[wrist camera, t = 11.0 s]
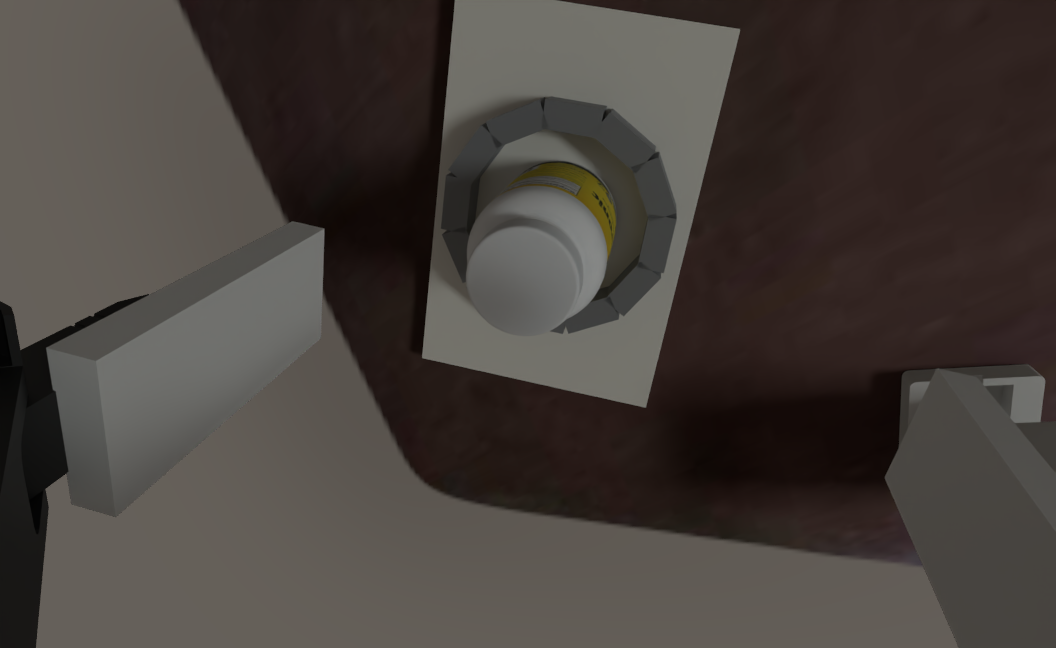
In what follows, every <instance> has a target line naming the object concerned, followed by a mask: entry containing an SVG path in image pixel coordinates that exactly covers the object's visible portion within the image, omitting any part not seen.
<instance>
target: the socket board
mask: <svg viewBox="0 0 1056 648" xmlns="http://www.w3.org/2000/svg"><path fill="white" fill-rule="evenodd" d="M739 33H740V29H735V28H729V27H723V26H716V25H710V24H704V23H697V22H691V21H684V20H678V19H672V18H665V17H659V16H652V15H646V14H640V13H633V12H627V11H620V10H614V9H608V8H601V7H595V6H588V5H582V4H576V3H569V2H563V1H556V0H455V6H454V17H453V27H452V38H451V49H450V60H449V71H448V82H447V93H446V104H445V114H444V125H443V136H442V147H441V158H440V169H439V180H438V190H437V201H436V212H435V223H434V234H433V245H432V256H431V266H430V277H429V288H428V299H427V310H426V321H425V332H424V343H423V353H422V358H425V359H429V360H434V361H438V362H443V363H447V364H452V365H456V366H461V367H465V368H470V369H474V370H479V371H483V372H488V373H492V374H497V375H501V376H506V377H510V378H515V379H519V380H524V381H528V382H533V383H537V384H542V385H546V386H551V387H555V388H560V389H564V390H569V391H573V392H578V393H582V394H587V395H591V396H596V397H600V398H605V399H609V400H614V401H618V402H623V403H627V404H632V405H636V406H641V407H645V408H646V405H647V401H648V397H649V393H650V389H651V385H652V381H653V377H654V373H655V369H656V365H657V361H658V357H659V353H660V349H661V345H662V341H663V337H664V333H665V329H666V325H667V321H668V317H669V313H670V309H671V305H672V301H673V297H674V293H675V289H676V285H677V281H678V277H679V273H680V269H681V265H682V261H683V257H684V253H685V249H686V245H687V241H688V237H689V233H690V229H691V225H692V221H693V217H694V213H695V209H696V205H697V201H698V197H699V193H700V189H701V185H702V181H703V177H704V173H705V169H706V165H707V161H708V157H709V153H710V149H711V145H712V141H713V137H714V133H715V129H716V125H717V121H718V117H719V113H720V109H721V105H722V101H723V97H724V93H725V89H726V85H727V81H728V77H729V73H730V69H731V65H732V61H733V57H734V53H735V49H736V45H737V41H738V37H739ZM548 161H568V162H573V163H576V164H579V165H582V166H584V167H586V168H587V169H589V170H591V171H592V172H594V173H595V174H596V175H597V176H598V177H599V178H600V179H601V180H602V181H603V182H604V183H605V185H606V186H607V188H608V189H609V191H610V193H611V195H612V197H613V200H614V203H615V207H616V215H617V223H616V231H615V236H614V240H613V244H612V248H611V252H610V255H609V259H608V264H607V269H606V272H605V276H604V279H603V281H602V283H601V286H600V288H599V290H598V292H597V293H596V295H595V296H594V298H593V299H592V300H591V302H590V303H589V304H588V305H587V306H586V307H585V308H584V309H582V310H581V311H580V312H578V313H577V314H575V315H574V316H572V317H570V318H568V319H566V320H565V321H564V322H563V323H562V324H560V325H559V326H558V327H556V328H554V329H553V330H551V331H549V332H546V333H543V334H539V335H535V336H518V335H513V334H509V333H506V332H503V331H501V330H499V329H497V328H495V327H494V326H492V325H491V324H489V323H488V322H487V321H486V320H485V319H484V318H483V317H482V316H481V315H480V314H479V313H478V312H477V310H476V309H475V307H474V305H473V304H472V302H471V299H470V297H469V294H468V291H467V286H466V270H467V264H468V263H467V244H468V239H469V235H470V232H471V230H472V227H473V225H474V223H475V221H476V219H477V218H478V216H479V215H480V214H481V212H482V211H483V210H484V208H485V207H486V206H487V205H488V204H489V203H490V202H491V201H493V200H494V199H495V198H496V197H497V196H498V195H499V194H500V193H501V192H502V191H503V190H504V189H505V188H506V187H507V186H508V185H509V184H511V183H512V182H513V181H514V180H515V179H516V178H517V177H518V176H519V175H520V174H522V173H523V172H524V171H526V170H527V169H529V168H531V167H533V166H535V165H537V164H540V163H543V162H548Z"/></svg>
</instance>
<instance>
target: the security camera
mask: <svg viewBox="0 0 1056 648" xmlns="http://www.w3.org/2000/svg"><path fill="white" fill-rule="evenodd" d="M943 370H947V371H952V372H956V373H961V374H965V375H969V376H974V377H977V378H978V379H979V380H980V382H981V383H982V384H983V385H984V386H985V388H986V389H987V390H988V391H989V393H990V394H991V395H992V396H993V397H994V399H995V400H996V401H997V402H998V404H999V405H1000V406H1001V407H1002V408H1003V410H1004V411H1005V412H1006V413H1007V415H1008V416H1009V417H1010V418H1011V419H1012V421H1013V422H1014V423H1015V424H1016V426H1017V427H1018V428H1019V429H1020V430H1021V432H1022V433H1023V434H1024V435H1025V436H1026V438H1027V439H1028V440H1029V441H1030V443H1031V444H1032V445H1033V446H1034V447H1035V449H1036V450H1037V451H1038V452H1039V454H1040V455H1041V456H1042V457H1043V458H1044V460H1045V461H1046V462H1047V463H1048V465H1049V466H1050V467H1051V468H1052V469H1053V471H1054V472H1055V473H1056V422H1040V419H1041V411H1042V403H1043V395H1044V387H1045V379H1044V378H1043V377H1042V376H1041V375H1040V374H1039V373H1038V372H1037V371H1035V370H1034V369H1033V368H1032V367H1031V366H1030V365H1028V364H1022V365H1003V366H984V367H965V368H946V369H943ZM935 371H936V369H927V370H909V371H905V372H904V373H903V374H902V383H901V407H900V430H899V446H900V444H901V442H902V440H903V438H904V436H905V434H906V432H907V430H908V427H909V425H910V423H911V421H912V419H913V417H914V415H915V413H916V411H917V409H918V407H919V404H920V402H921V400H922V398H923V396H924V394H925V392H926V390H927V388H928V386H929V384H930V381H931V379H932V377H933V375H934V373H935ZM916 552H917V551H916ZM917 554H918V553H917Z"/></svg>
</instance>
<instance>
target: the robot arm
mask: <svg viewBox="0 0 1056 648" xmlns="http://www.w3.org/2000/svg"><path fill="white" fill-rule="evenodd" d="M323 259H324V228H320V227H315V226H311V225H307V224H302V223H298V222H293V221H292V222H290V223H288V224H286V225H284V226H283V227H281V228H279V229H277V230H275V231H273V232H271V233H269V234H267V235H265V236H263V237H261V238H259V239H257V240H255V241H253V242H251V243H250V244H248V245H246V246H244V247H242V248H240V249H238V250H236V251H234V252H232V253H230V254H228V255H226V256H224V257H222V258H220V259H218V260H217V261H214V262H212V263H210V264H209V265H207V266H205V267H203V268H201V269H199V270H197V271H195V272H193V273H191V274H189V275H188V276H185V277H183V278H181V279H179V280H177V281H175V282H173V283H171V284H170V285H168V286H166V287H164V288H162V289H160V290H158V291H156V292H154V293H152V294H150V295H149V294H147V295H143V296H139V297H135V298H131V299H128V300H124V301H120V302H117V303H115V304H113V305H111V306H109V307H107V308H105V309H103V310H101V311H99V312H97V313H95V314H94V317H92V316H89V317H87V318H85V319H83V320H81V321H79V322H77V323H75V326H69V327H66V328H65V329H62V330H60V331H58V332H56V333H55V334H52V335H50V336H48V337H46V338H44V339H42V340H40V341H38V342H36V343H34V344H32V345H30V346H28V347H26V348H24V349H22V350H20V346H19V340H18V335H17V329H16V324H15V319H14V314H13V311H12V308H11V307H10V306H8V305H6V304H4V303H2V302H0V648H36V639H37V628H38V617H39V606H40V595H41V584H42V572H43V562H44V551H45V541H46V530H47V519H48V508H49V507H48V501H47V496H46V491H45V489H46V488H47V487H48V486H50V485H51V484H52V483H54V482H55V481H56V480H58V479H59V478H61V477H62V476H63V475H65V474H67V480H68V486H69V493H70V499H71V504H72V505H76V506H79V507H83V508H86V509H89V510H93V511H96V512H100V513H103V514H107V515H110V516H113V517H117V516H118V515H119V514H120V513H121V512H122V511H123V510H125V509H126V508H127V507H128V506H129V505H130V504H131V503H133V502H134V501H135V500H136V499H137V498H138V497H140V496H141V495H142V494H143V493H144V492H145V491H146V490H148V488H150V487H151V486H152V485H153V484H154V483H156V482H157V481H158V480H159V479H160V478H161V477H162V476H164V475H165V474H166V473H167V472H168V471H169V470H170V469H172V468H173V467H174V466H175V465H176V464H177V463H178V462H180V461H181V460H182V459H183V458H184V457H185V456H186V455H188V454H189V453H190V452H191V451H192V450H193V449H194V448H196V447H197V446H198V445H199V444H200V443H201V442H202V441H204V440H205V439H206V438H207V437H208V436H209V435H210V434H211V433H213V432H214V431H215V430H216V429H217V428H218V427H220V426H221V425H222V424H223V423H224V422H225V421H226V420H228V419H229V418H230V417H231V416H232V415H233V414H234V413H236V412H237V411H238V410H239V409H240V408H241V407H242V406H244V405H245V404H246V403H247V402H248V401H249V400H250V399H252V398H253V397H254V396H255V395H256V394H257V393H258V392H260V391H261V390H262V389H263V388H264V387H265V386H266V385H268V384H269V383H270V382H271V381H272V380H273V379H274V378H276V377H277V376H278V375H279V374H280V373H281V372H283V371H284V370H285V369H286V368H287V367H288V366H289V365H291V364H292V363H293V362H294V361H295V360H296V359H297V358H299V357H300V356H301V355H302V354H303V353H304V352H305V351H307V350H308V349H309V348H310V347H311V346H312V345H313V344H315V343H316V342H317V341H318V340H319V339H320V338H321V318H322V289H323ZM885 480H886V482H887V485H888V487H889V489H890V492H891V494H892V496H893V498H894V501H895V503H896V505H897V508H898V510H899V512H900V514H901V517H902V519H903V521H904V524H905V526H906V528H907V530H908V533H909V535H910V537H911V540H912V542H913V544H914V546H915V549H916V551H917V553H918V556H919V558H920V560H921V562H922V565H923V567H924V569H925V572H926V574H927V576H928V578H929V581H930V583H931V585H932V587H933V590H934V592H935V594H936V596H937V599H938V601H939V603H940V606H941V608H942V610H943V613H944V615H945V617H946V620H947V622H948V624H949V626H950V629H951V631H952V633H953V635H954V638H955V640H956V642H957V645H958V647H959V648H1056V473H1055V472H1054V471H1053V469H1052V468H1051V467H1050V466H1049V465H1048V463H1047V462H1046V461H1045V460H1044V458H1043V457H1042V456H1041V455H1040V454H1039V452H1038V451H1037V450H1036V449H1035V447H1034V446H1033V445H1032V444H1031V443H1030V441H1029V440H1028V439H1027V438H1026V436H1025V435H1024V434H1023V433H1022V432H1021V430H1020V429H1019V428H1018V427H1017V426H1016V424H1015V423H1014V422H1013V421H1012V419H1011V418H1010V417H1009V416H1008V415H1007V413H1006V412H1005V411H1004V410H1003V408H1002V407H1001V406H1000V405H999V404H998V402H997V401H996V400H995V399H994V397H993V396H992V395H991V394H990V393H989V391H988V390H987V389H986V388H985V386H984V385H983V384H982V383H981V382H980V380H979V379H978V378H977V377H974V376H969V375H965V374H961V373H956V372H952V371H947V370H943V369H939V368H937V369H936V371H935V373H934V375H933V377H932V379H931V381H930V384H929V386H928V388H927V390H926V392H925V394H924V396H923V398H922V400H921V402H920V404H919V407H918V409H917V411H916V413H915V415H914V417H913V419H912V421H911V423H910V425H909V427H908V430H907V432H906V434H905V436H904V438H903V440H902V442H901V444H900V446H899V448H898V450H897V453H896V455H895V457H894V459H893V461H892V463H891V465H890V467H889V469H888V471H887V473H886V476H885Z"/></svg>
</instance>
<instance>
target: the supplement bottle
mask: <svg viewBox="0 0 1056 648" xmlns="http://www.w3.org/2000/svg"><path fill="white" fill-rule="evenodd" d="M616 223H617V215H616V207H615V203H614V200H613V197H612V195H611V193H610V191H609V189H608V188H607V186H606V185H605V183H604V182H603V181H602V180H601V179H600V178H599V177H598V176H597V175H596V174H595V173H594V172H592V171H591V170H589V169H587V168H586V167H584V166H582V165H579V164H576V163H573V162H568V161H548V162H543V163H540V164H537V165H535V166H533V167H531V168H529V169H527V170H526V171H524V172H523V173H522V174H520V175H519V176H518V177H517V178H516V179H515V180H514V181H513V182H512V183H511V184H509V185H508V186H507V187H506V188H505V189H504V190H503V191H502V192H501V193H500V194H499V195H498V196H497V197H496V198H495V199H494V200H493V201H491V202H490V203H489V204H488V205H487V206H486V207H485V208H484V210H483V211H482V212H481V214H480V215H479V216H478V218H477V219H476V221H475V223H474V225H473V227H472V230H471V232H470V235H469V239H468V244H467V263H468V264H467V270H466V286H467V291H468V294H469V297H470V299H471V302H472V304H473V305H474V307H475V309H476V310H477V312H478V313H479V314H480V315H481V316H482V317H483V318H484V319H485V320H486V321H487V322H488V323H489V324H491V325H492V326H494V327H495V328H497V329H499V330H501V331H503V332H506V333H509V334H513V335H518V336H535V335H539V334H543V333H546V332H549V331H551V330H553V329H554V328H556V327H558V326H559V325H560V324H562V323H563V322H564V321H565V320H566V319H568V318H570V317H572V316H574V315H575V314H577V313H578V312H580V311H581V310H582V309H584V308H585V307H586V306H587V305H588V304H589V303H590V302H591V300H592V299H593V298H594V296H595V295H596V293H597V292H598V290H599V288H600V286H601V283H602V281H603V279H604V276H605V272H606V269H607V264H608V259H609V255H610V252H611V248H612V244H613V240H614V236H615V231H616Z"/></svg>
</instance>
